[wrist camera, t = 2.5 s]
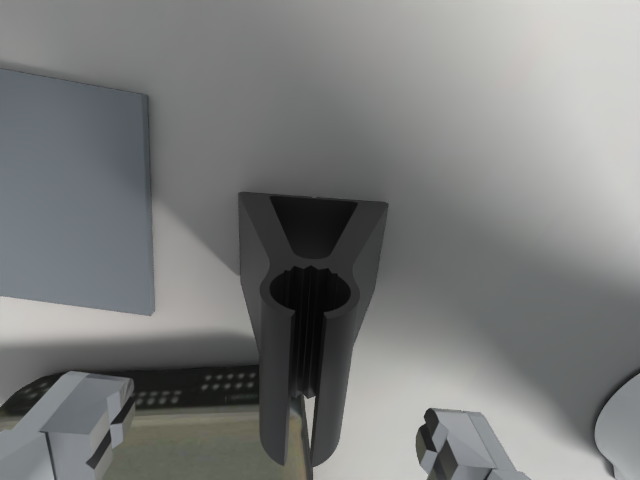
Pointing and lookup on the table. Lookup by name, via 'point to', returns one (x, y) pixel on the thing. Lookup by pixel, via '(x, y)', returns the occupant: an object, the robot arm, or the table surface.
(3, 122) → the rubber mat
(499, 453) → the robot arm
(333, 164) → the table surface
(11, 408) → the network switch
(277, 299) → the black slotted holder
